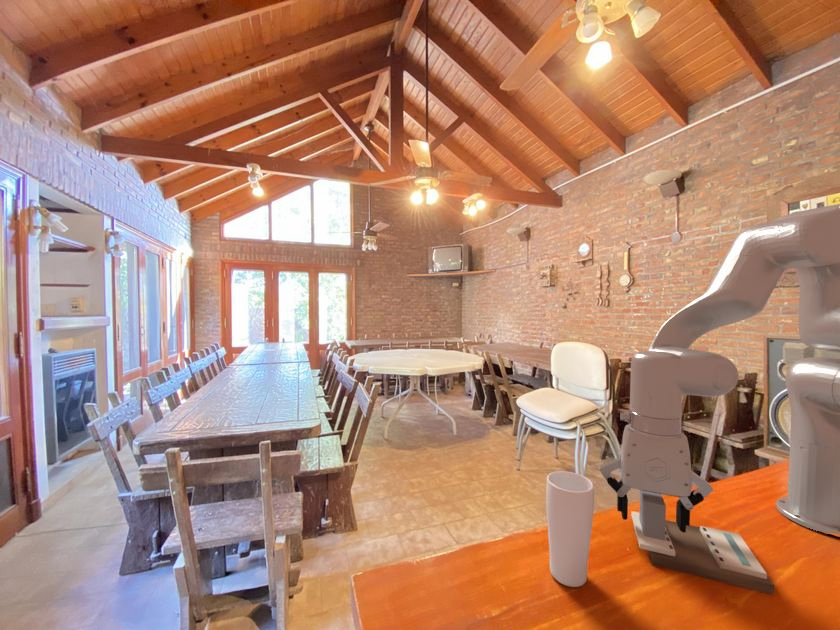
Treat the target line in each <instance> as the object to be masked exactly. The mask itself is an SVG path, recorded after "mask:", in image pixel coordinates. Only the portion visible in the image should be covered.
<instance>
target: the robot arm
mask: <svg viewBox="0 0 840 630" xmlns="http://www.w3.org/2000/svg"><path fill="white" fill-rule="evenodd" d="M789 269H793V270H794V272H795V274H796V275H797V279H798V285H799V287H798V289H799V292H798V293H799V294H798V295H799V296H798V298H799V299H798V335H799V339H800V341H801V343H803V344H804V345H805V346H806V347H809V348H812V349H815V350H820V351H825V352H833V353H834V352H835V353H840V203H837V204H832V205H826V206H820V207H816V208H809V209H806V210H804V209H803V210H801V211H796V212H793V213H792V212H791V213H789V214H786V215H785V214H784V216H780V217H777V218H776V219H774V220H772V221H767V222H762V223H757V224H755V225H751V226H749V227H746V228H744V229H742V231H740V232H739V233H738V234H737V235H736V237H735V238H734V239H733V241H732V243H731V244H730V246H729V248H728V250H727V252H726V254H725V255H724V257H723V259H722V261H721V263H720V264H719V266H718V268H717V269H716V271H715V273H714V275H713V277H712V279H711V281H710V282H709V284H708V286H707V287H706V289H705V290H704V292H703V293H702V294H701V295H700V296H698V297H697V298H695V299H694V300H692V301H690V302H689V303H687V304H686V305H685V306H683V307H682V308H681V309H680V310H678V311H677V312H676V313H674V314H673V315H672V316H671V317H669V318H668V319H667V320H666V321H665V322H664V323H663V324H662V325H661V327H660V328H659V329H658V331H657V332H656V334H655V336H654V338H653V339H652V342H651V343H650V345H649V347H648V348H647V350H641V351H636V352H635V353H633V355H631V359H630V384H629V385H630V387H629V388H630V389H629V408H628V410H627V412H626V411H625V412H620V415H619V417H620V419H619V420H620V421H624V422H627V424H626V425H625V426H624V428H623V429H624V430H623V433H622V438H621V444H620V451H619V452H620V453H619V456H618V457H616V458H615V459H612V460H609V461H607V462H605V463H603V464H601V465H599V471H600V473H601V475H602V476H603V478H604V479H605V480H606V482H607V484H608V485H609V486H610V487H611V489H613V490H614V491H615V493H616V497H617V501H616V509H617V512H620V513H621V517H622V520H624V521H626V520H628V509H629V505H628V504H629V499H628V498H629V497H628V495H627V493H628V492H629V491H630V490H631V489H632V490H637V491H640V490H641V491H647V492H652V493H658V494H661V495H665V496H669V497H675V498H678V499H677V501H676V510H675V522H676V523H677V525H678V527H679V529H680V531H681V532H684V533H686V525H687V526H689V525H691V521H690V520H691V510H694V507H695V506H697V505H698V504H700V503H702V502H703V501H704V500H705V498H707V497H708V496H709V495H710V494H711V493H712V492H714V487H713V486H712V484H710V483H709V482H708V481H706V480H705V479H704V478H702V477H701V476H700V475H698V474H697V473H696V472H694V471H693V470H692V461H691V453H690V446H689V440H688V437H687V435H686V434H685V433H684V432H682V415H683V413H682V412H683V409H682V407H683V404H682V403H683V396H685V395H689V396H697V397H705V398H714V397H720V396H724V395H727V394H729V393H730V392H731V391H732V390H733V389H735V388H736V386H737V384H738V381H739V371H738V368H737V366H736V365H735V364H734V362H732V360H730V359H729V358H728V357H726V356H724V355H722V354H719V353H715V352H711V351H704V350H697V349H691V348H690V347H691V345H693V344H694V342H695V341H696V340H698V339H699V338H700V337H702V336H703V335H705V334H707V333H708V332H711V331H714V330H717V329H719V328H722V327H725V326H728V325H732V324H735V323H739V322H742V321H745V320H747V319H750V318H753V317H755V316H757V315H758V314H760V313H761V312H762V311H763V310H764V308H765V306H766V304H767V303H768V301H769V300H770V298H771V295H772V293H773V292H774V290H775V288H776V286H777V285H778V282H779V281H780V278H781V277H782V275H783V274H784V272H785V271H787V270H789ZM785 385H786V391H787V395H788V400H789V406H790V407H789V408H790V439H789V457H788V458H789V459H788V479H787V480H788V482H787V484H786V485H787V496H783V497H779V498H778V499H777V500H776V508H777V510H778V511H779V512H780V513H781V514H782V515H783V516H785V517H786V518H787V519H789V520H790V521H792V522H795V523H797V524H798V525H800V526H803V527H805V528H807V529H809V528H810V530H812V529H813V530H812V531H815V530H816V531H815V532H817V531H821V532H824V533H835V534H840V359H839V358H833V357H832V358H831V357H819V356H818V357H816V356H815V357H814V356H811V357H804V358H801V359H798V360H795V361H794V362H793V363H792V364H791V365H790V366H789V367H788V368H787V370H786V373H785ZM616 470H619V473H620V479H619V480H617V479H616V477H614V475H612V473H611V472H614V471H616ZM692 483H694V484H696V486H697V487H696V489H692Z"/></svg>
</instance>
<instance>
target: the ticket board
mask: <svg viewBox="0 0 840 630" xmlns="http://www.w3.org/2000/svg"><path fill="white" fill-rule="evenodd" d="M665 527H666V529H667V532H668V534H669V537H670V539H671V542H672V544H673V547H674V550H675V557H674V556H670V555H666V554H662V553H657V552H653V551H649V550H647V551H648V554H649V558H650V561H651V565H652V566H657V567H659V568H665V569H668V570H673V571H676V572H681V573H685V574H688V575H692V576H697V577H700V578H704V579H709V580H712V581H715V582H718V583H719V582H720V583H724V584H728V585H732V586H736V587H740V588H742V589H743V588H744V589H748V590H752V591H756V592H759V593H764V594H767V595H772V596H775V589H776V586H775V584H774V582H773V580H772V579H771V578H770V577H769V575H768V573H767V572H766V570H765V569H764V568H763V566H762V565H761V563H760V562H759V560H758V559H757V558H756V556H755V555H754V553H753V552H752V551H751V549H750V547H749V546H748V545H747V543H746V542H745V540H744V539H743V537H742V536H741V534H740V533H737V532H733V531H727V530H722V529H717V528H713V527H708V526H702V525H699V526H695V525H691V524H690V525H689V526H687V525H686V533H684V532H681V531H680V529H679V527H678V525H677V523H676V521H672V520H668V519H666V520H665Z"/></svg>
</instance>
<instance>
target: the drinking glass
mask: <svg viewBox="0 0 840 630" xmlns="http://www.w3.org/2000/svg"><path fill="white" fill-rule="evenodd" d="M594 493H595V491H594V483H593V482H592V481H591V480H590V479H589V478H587V477H585V476H584V475H581V474H579V473H575V472H572V471H565V470H556V471H553V472H550V473H549V474H547V476H546V488H545V511H546V520H547V521H546V522H547V524H546V525H547V537H548V549H549V551H548V552H549V570H550V574H551V576H552V577H553V578H554V579H555V580H556V581H557V582H558V583H560V584H562V585H564V586H566V587H569V588H570V587H571V588H578V587H582V586H583V585H584V584H586V582H587V578H588V562H589V555H590V545H591V537H592V529H593V523H594V521H593V520H594V510H595V509H594V508H595V495H594Z"/></svg>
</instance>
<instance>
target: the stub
mask: <svg viewBox="0 0 840 630" xmlns="http://www.w3.org/2000/svg"><path fill="white" fill-rule="evenodd" d="M666 509H667V505H666V502H665V501H664V498H663V496H662V494H658V493H652V492H647V491H641V490H639V511H632V510H631V511H630V513H631V515H630V516H631V521H632V523H633V528H634V531H635V535H636V539H637V542H638V546H639V549H641V550H646V551H648V550H649V551H653V552H657V553H662V554H666V555H670V556H674V557H675V550H674V547H673V544H672V542H671V539H670V537H669V534H668V532H667V529H666V527H665V520H667V519H666V517H667V516H666V513H667V510H666ZM649 551H648V552H649Z"/></svg>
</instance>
